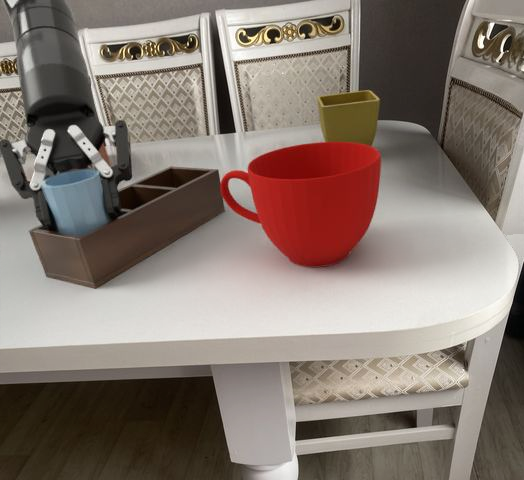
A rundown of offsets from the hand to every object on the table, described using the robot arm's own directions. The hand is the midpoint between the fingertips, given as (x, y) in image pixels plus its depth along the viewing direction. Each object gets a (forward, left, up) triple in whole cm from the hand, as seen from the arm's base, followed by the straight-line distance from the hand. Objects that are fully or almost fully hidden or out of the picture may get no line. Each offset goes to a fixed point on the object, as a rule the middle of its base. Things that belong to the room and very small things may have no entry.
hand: (81, 220), depth 56 cm
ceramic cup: (+20, +12, -6) cm, 24 cm away
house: (-39, +31, -6) cm, 50 cm away
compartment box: (-1, +9, -6) cm, 11 cm away
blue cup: (-1, +1, -5) cm, 5 cm away
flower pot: (+9, +48, -6) cm, 49 cm away
